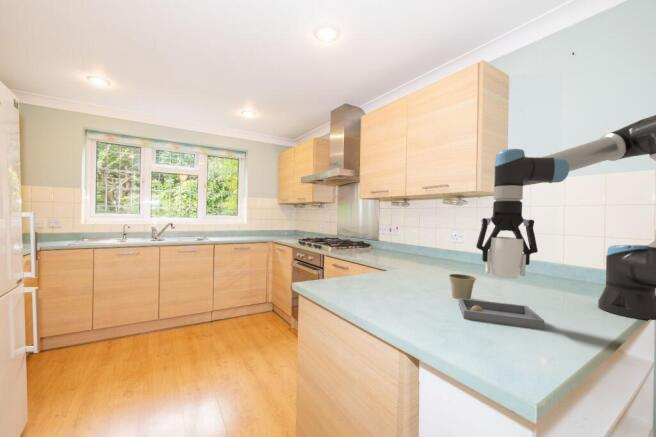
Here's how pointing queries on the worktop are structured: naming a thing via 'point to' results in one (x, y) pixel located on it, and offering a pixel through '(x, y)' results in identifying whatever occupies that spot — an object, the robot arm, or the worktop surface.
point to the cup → (506, 256)
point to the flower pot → (461, 285)
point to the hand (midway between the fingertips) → (504, 273)
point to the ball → (477, 308)
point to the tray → (501, 313)
